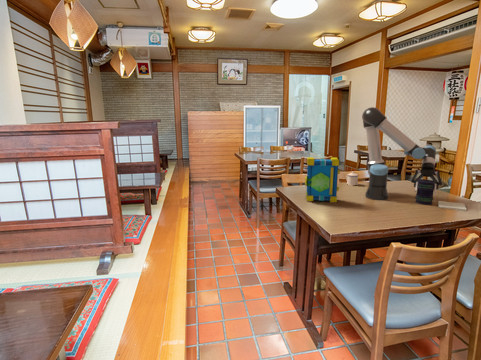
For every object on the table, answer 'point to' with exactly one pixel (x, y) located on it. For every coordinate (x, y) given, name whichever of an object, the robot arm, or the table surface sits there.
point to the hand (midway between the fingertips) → (425, 192)
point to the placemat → (452, 205)
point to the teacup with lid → (352, 179)
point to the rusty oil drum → (425, 191)
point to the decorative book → (322, 179)
